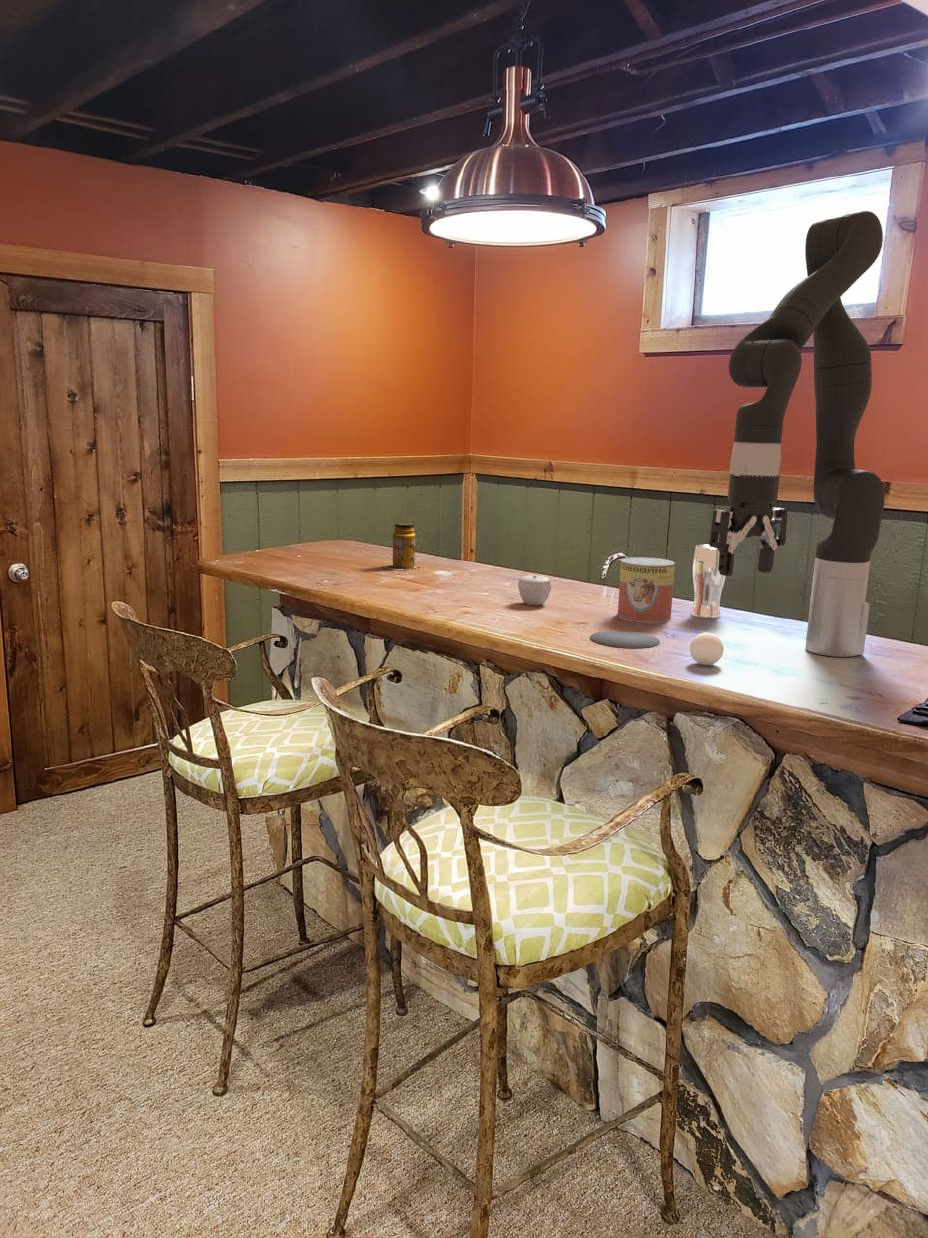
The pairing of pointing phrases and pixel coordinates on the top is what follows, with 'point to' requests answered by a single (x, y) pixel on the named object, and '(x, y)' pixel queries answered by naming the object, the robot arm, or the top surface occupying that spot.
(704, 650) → the ball
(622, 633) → the disc
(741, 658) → the top surface
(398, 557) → the condiment
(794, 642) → the top surface
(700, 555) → the beer glass
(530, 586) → the apple
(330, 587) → the top surface
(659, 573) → the canned food
